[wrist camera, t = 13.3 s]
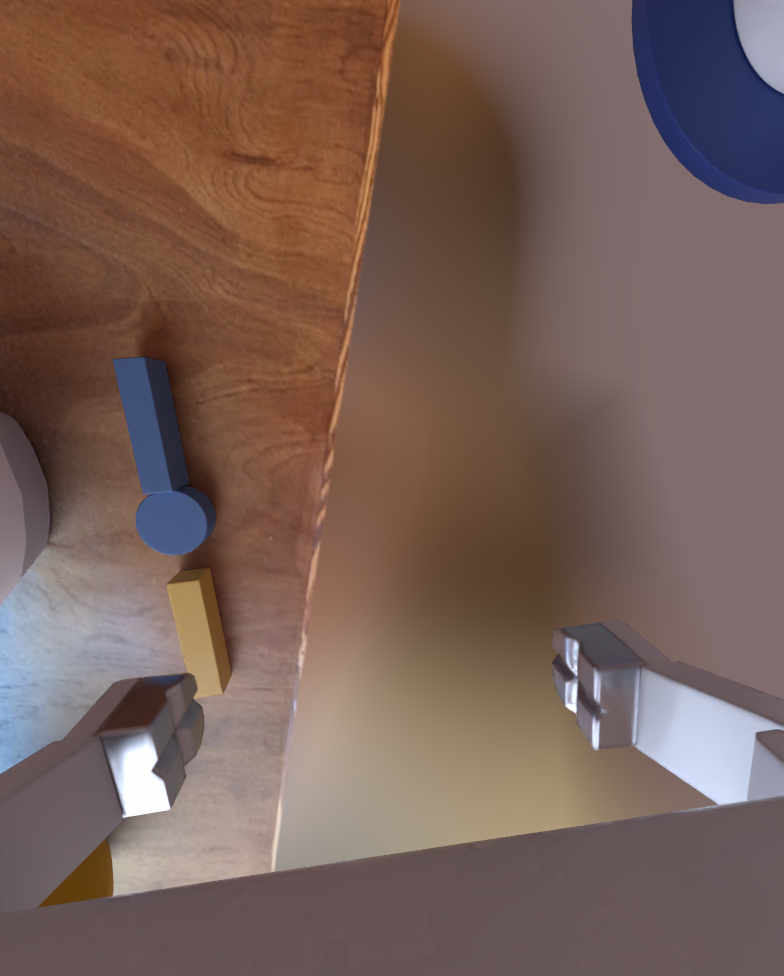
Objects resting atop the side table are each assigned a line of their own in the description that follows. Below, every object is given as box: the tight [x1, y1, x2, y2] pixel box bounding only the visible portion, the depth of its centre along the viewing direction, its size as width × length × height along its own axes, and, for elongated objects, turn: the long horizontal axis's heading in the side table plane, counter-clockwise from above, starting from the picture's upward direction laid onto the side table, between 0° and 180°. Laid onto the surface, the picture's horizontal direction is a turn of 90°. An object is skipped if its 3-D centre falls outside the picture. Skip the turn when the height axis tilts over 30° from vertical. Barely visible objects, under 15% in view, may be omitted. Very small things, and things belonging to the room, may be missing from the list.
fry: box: [167, 568, 232, 698], centre depth 32 cm, size 10×2×2 cm, turn 5°
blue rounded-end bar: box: [113, 357, 216, 555], centre depth 28 cm, size 14×5×3 cm, turn 5°
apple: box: [37, 839, 113, 908], centre depth 30 cm, size 10×10×12 cm
